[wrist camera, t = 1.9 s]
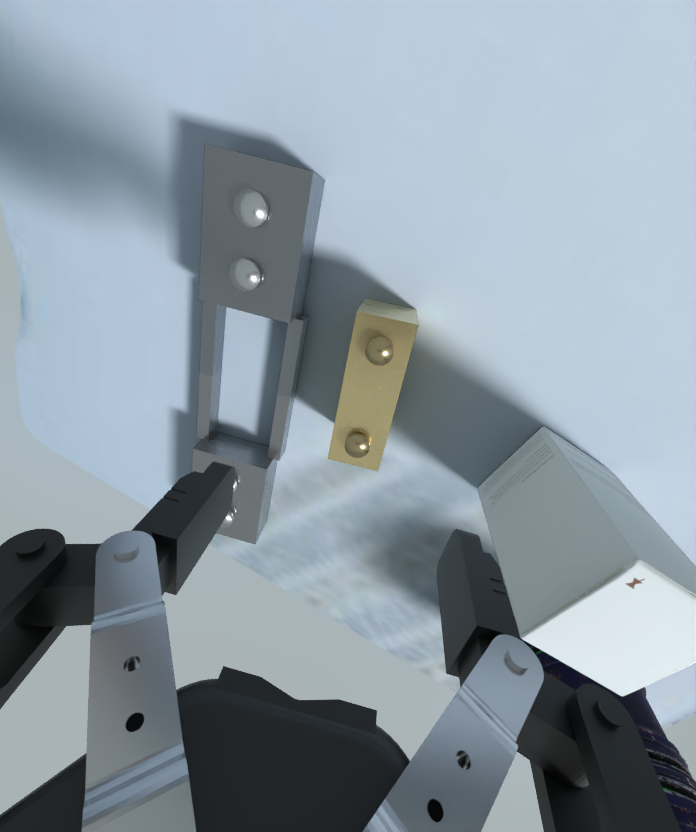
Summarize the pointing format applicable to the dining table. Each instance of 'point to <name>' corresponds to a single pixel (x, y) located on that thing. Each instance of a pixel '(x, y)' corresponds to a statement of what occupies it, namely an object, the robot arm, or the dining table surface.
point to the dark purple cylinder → (685, 796)
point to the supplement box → (589, 567)
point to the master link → (372, 382)
